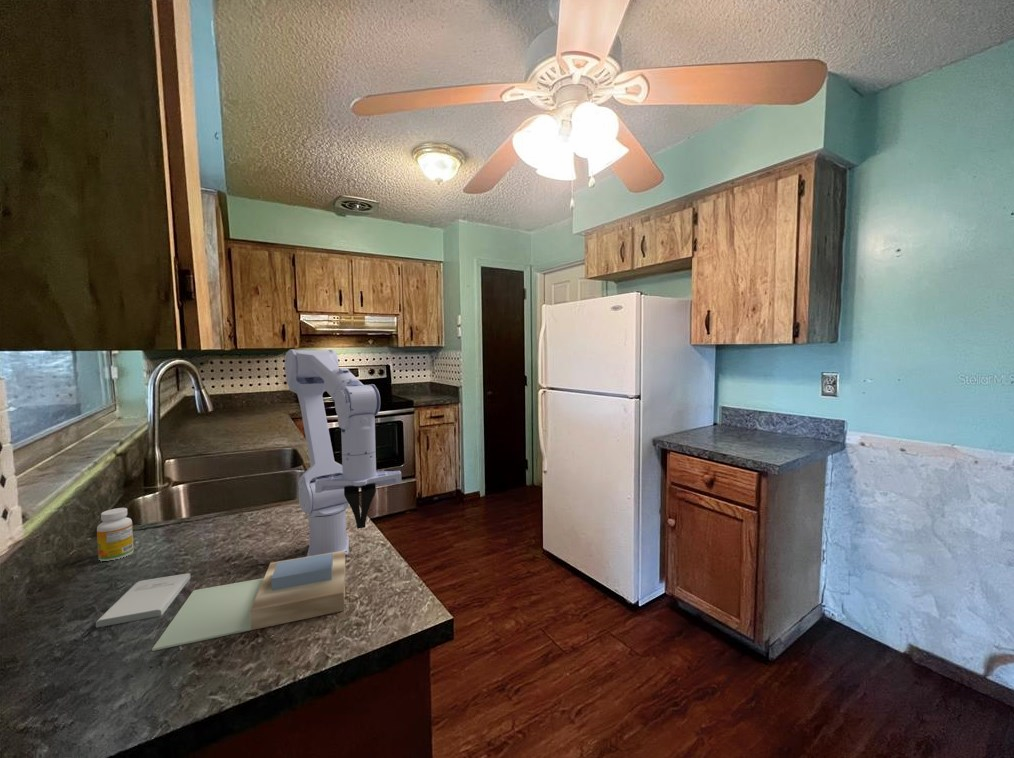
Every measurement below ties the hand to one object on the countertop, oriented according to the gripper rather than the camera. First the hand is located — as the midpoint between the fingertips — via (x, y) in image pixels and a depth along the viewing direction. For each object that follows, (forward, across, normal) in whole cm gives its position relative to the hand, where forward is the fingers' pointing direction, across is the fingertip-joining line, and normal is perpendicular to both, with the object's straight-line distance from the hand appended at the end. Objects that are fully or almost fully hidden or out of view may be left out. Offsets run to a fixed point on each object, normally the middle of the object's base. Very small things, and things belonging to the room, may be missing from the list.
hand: (361, 526), depth 74 cm
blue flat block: (+7, -10, 0) cm, 12 cm away
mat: (+10, -22, 0) cm, 24 cm away
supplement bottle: (+11, -48, +31) cm, 59 cm away
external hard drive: (+11, -34, +8) cm, 37 cm away
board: (+10, -10, 0) cm, 14 cm away
